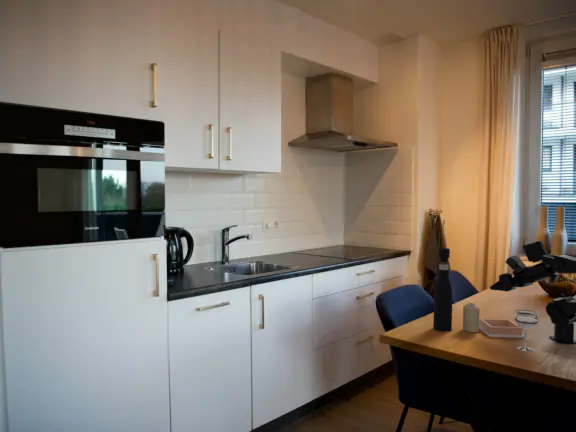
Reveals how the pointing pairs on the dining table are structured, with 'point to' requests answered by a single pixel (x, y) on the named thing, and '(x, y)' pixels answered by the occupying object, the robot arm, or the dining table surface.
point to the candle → (471, 318)
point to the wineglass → (526, 324)
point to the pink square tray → (501, 328)
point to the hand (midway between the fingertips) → (496, 286)
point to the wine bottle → (443, 294)
